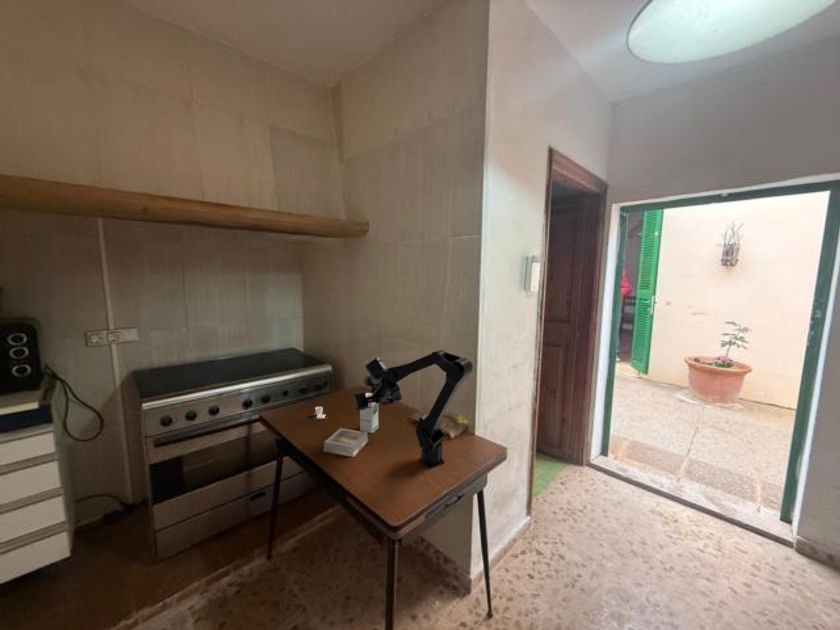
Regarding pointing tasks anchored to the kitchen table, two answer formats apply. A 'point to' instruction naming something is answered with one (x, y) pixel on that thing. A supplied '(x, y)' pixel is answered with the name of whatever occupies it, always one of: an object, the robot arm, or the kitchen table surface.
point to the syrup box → (369, 417)
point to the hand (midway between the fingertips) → (371, 406)
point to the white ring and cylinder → (319, 412)
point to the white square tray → (346, 442)
